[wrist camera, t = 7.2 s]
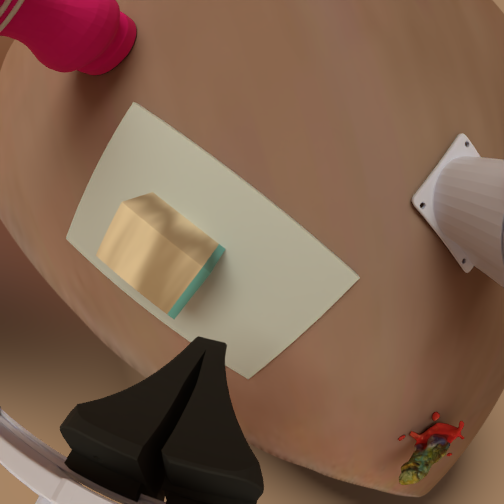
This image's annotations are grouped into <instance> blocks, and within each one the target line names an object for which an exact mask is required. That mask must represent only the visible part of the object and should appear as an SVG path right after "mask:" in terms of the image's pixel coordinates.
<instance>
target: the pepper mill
mask: <svg viewBox="0 0 504 504" xmlns="http://www.w3.org/2000/svg"><path fill="white" fill-rule="evenodd" d="M0 36H7V37H10V38H13V39H16V40H19V41H20V42H22V43H23V44H25V45H26V46H27V47H28V48H29V49H30V50H31V51H32V53H33V54H34V55H35V56H36V58H37V59H38V60H39V61H40V62H41V63H42V64H44V65H45V66H46V67H48V68H50V69H53V70H55V71H58V72H72V71H75V70H78V71H80V72H83V73H86V74H89V75H100V74H103V73H106V72H108V71H110V70H111V69H113V68H114V67H116V66H117V65H118V64H119V63H120V62H121V61H122V60H123V59H124V58H125V57H126V56H127V55H128V53H129V51H130V50H131V48H132V46H133V44H134V41H135V38H136V26H135V23H134V21H133V20H132V19H131V18H129V17H128V16H127V15H125V14H124V13H122V12H120V9H119V5H118V3H117V2H116V0H0Z"/></svg>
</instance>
